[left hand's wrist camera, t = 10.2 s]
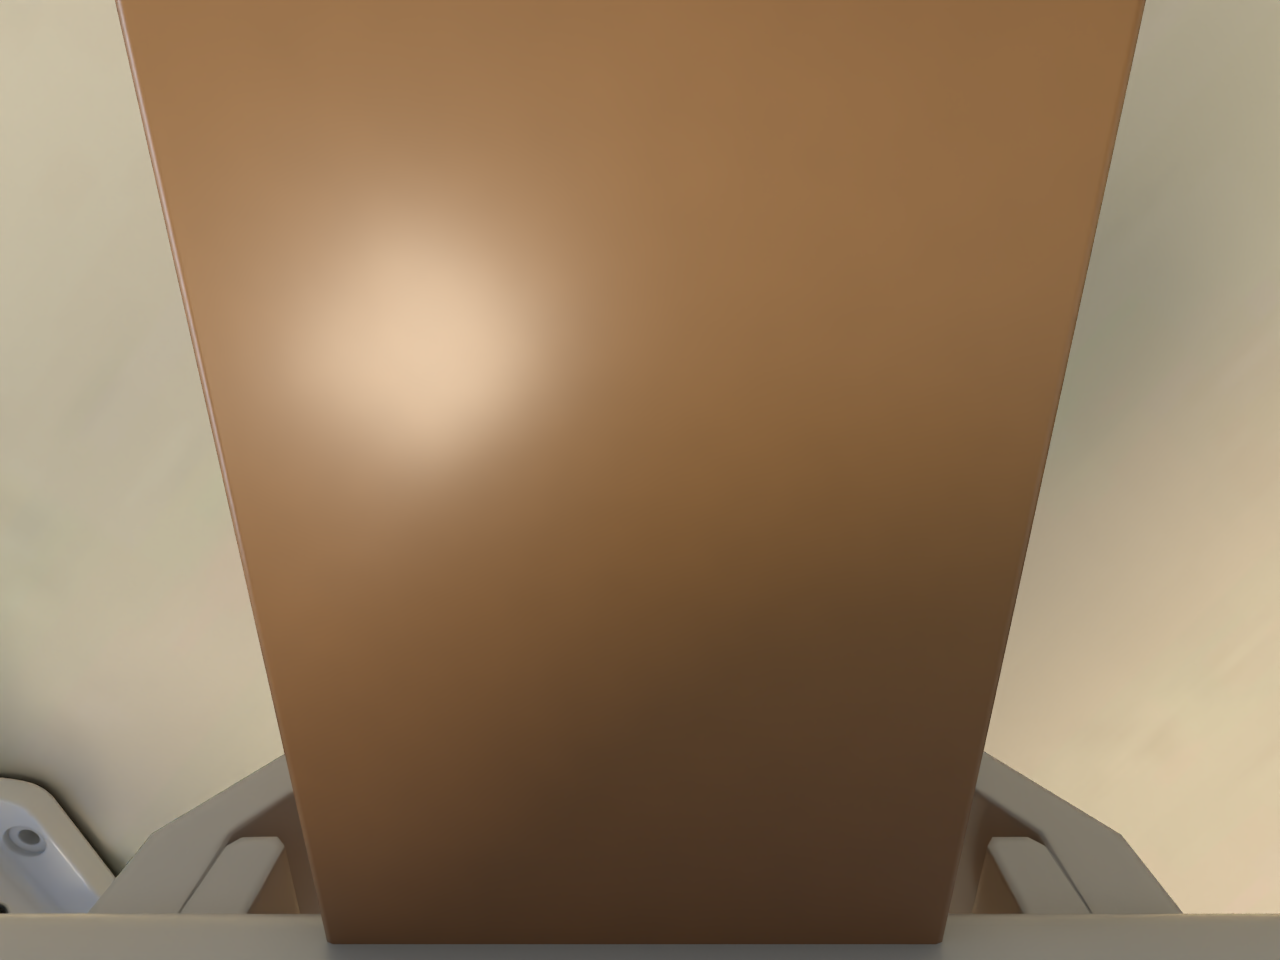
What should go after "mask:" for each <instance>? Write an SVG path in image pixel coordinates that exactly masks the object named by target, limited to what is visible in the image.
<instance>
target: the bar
mask: <svg viewBox="0 0 1280 960" xmlns="http://www.w3.org/2000/svg"><path fill="white" fill-rule="evenodd" d="M1145 1H1146V0H115V2H116V7H117V11H118V16H119V20H120V24H121V29H122V33H123V38H124V42H125V47H126V51H127V55H128V60H129V64H130V69H131V73H132V78H133V82H134V87H135V91H136V95H137V100H138V104H139V109H140V113H141V118H142V122H143V127H144V131H145V135H146V140H147V144H148V149H149V153H150V158H151V162H152V167H153V171H154V175H155V180H156V184H157V189H158V193H159V198H160V202H161V206H162V211H163V215H164V220H165V224H166V229H167V233H168V238H169V242H170V246H171V251H172V255H173V260H174V264H175V269H176V273H177V278H178V282H179V286H180V291H181V295H182V300H183V304H184V309H185V313H186V317H187V322H188V326H189V331H190V335H191V340H192V344H193V349H194V353H195V357H196V362H197V366H198V371H199V375H200V380H201V384H202V389H203V393H204V397H205V402H206V406H207V411H208V415H209V420H210V424H211V429H212V433H213V437H214V442H215V446H216V451H217V455H218V460H219V464H220V468H221V473H222V477H223V482H224V486H225V491H226V495H227V500H228V504H229V508H230V513H231V517H232V522H233V526H234V531H235V535H236V540H237V544H238V548H239V553H240V557H241V562H242V566H243V571H244V575H245V579H246V584H247V588H248V593H249V597H250V602H251V606H252V611H253V615H254V619H255V624H256V628H257V633H258V637H259V642H260V646H261V651H262V655H263V659H264V664H265V668H266V673H267V677H268V682H269V686H270V690H271V695H272V699H273V704H274V708H275V713H276V717H277V722H278V726H279V730H280V735H281V739H282V744H283V748H284V753H285V757H286V762H287V766H288V770H289V775H290V779H291V784H292V788H293V793H294V797H295V802H296V806H297V810H298V815H299V819H300V824H301V828H302V833H303V837H304V841H305V846H306V850H307V855H308V859H309V864H310V868H311V873H312V877H313V881H314V886H315V890H316V895H317V899H318V904H319V908H320V913H321V917H322V921H323V926H324V930H325V935H326V939H327V942H329V943H331V944H938V943H940V942H942V940H943V936H944V931H945V926H946V922H947V917H948V912H949V908H950V903H951V899H952V894H953V889H954V885H955V880H956V875H957V871H958V866H959V862H960V857H961V852H962V848H963V843H964V838H965V834H966V829H967V825H968V820H969V815H970V811H971V806H972V801H973V797H974V792H975V788H976V783H977V778H978V774H979V769H980V764H981V760H982V755H983V751H984V746H985V741H986V737H987V732H988V727H989V723H990V718H991V714H992V709H993V704H994V700H995V695H996V690H997V686H998V681H999V677H1000V672H1001V667H1002V663H1003V658H1004V653H1005V649H1006V644H1007V640H1008V635H1009V630H1010V626H1011V621H1012V616H1013V612H1014V607H1015V603H1016V598H1017V593H1018V589H1019V584H1020V579H1021V575H1022V570H1023V566H1024V561H1025V556H1026V552H1027V547H1028V542H1029V538H1030V533H1031V529H1032V524H1033V519H1034V515H1035V510H1036V505H1037V501H1038V496H1039V492H1040V487H1041V482H1042V478H1043V473H1044V468H1045V464H1046V459H1047V455H1048V450H1049V445H1050V441H1051V436H1052V431H1053V427H1054V422H1055V418H1056V413H1057V408H1058V404H1059V399H1060V394H1061V390H1062V385H1063V381H1064V376H1065V371H1066V367H1067V362H1068V357H1069V353H1070V348H1071V344H1072V339H1073V334H1074V330H1075V325H1076V320H1077V316H1078V311H1079V307H1080V302H1081V297H1082V293H1083V288H1084V283H1085V279H1086V274H1087V270H1088V265H1089V260H1090V256H1091V251H1092V246H1093V242H1094V237H1095V233H1096V228H1097V223H1098V219H1099V214H1100V209H1101V205H1102V200H1103V196H1104V191H1105V186H1106V182H1107V177H1108V172H1109V168H1110V163H1111V159H1112V154H1113V149H1114V145H1115V140H1116V135H1117V131H1118V126H1119V122H1120V117H1121V112H1122V108H1123V103H1124V98H1125V94H1126V89H1127V85H1128V80H1129V75H1130V71H1131V66H1132V61H1133V57H1134V52H1135V48H1136V43H1137V38H1138V34H1139V29H1140V24H1141V20H1142V15H1143V11H1144V6H1145Z"/></svg>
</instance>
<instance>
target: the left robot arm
mask: <svg viewBox="0 0 1280 960" xmlns="http://www.w3.org/2000/svg"><path fill="white" fill-rule="evenodd" d="M0 960H1280V914H1183V913H1182V911H1181V910H1180V909H1179V907H1178V906H1177V905H1176V904H1175V902H1174V901H1173V900H1172V899H1171V897H1170V896H1169V895H1168V894H1167V892H1166V891H1165V890H1164V888H1163V887H1162V886H1161V885H1160V883H1159V882H1158V881H1157V880H1156V878H1155V877H1154V876H1153V875H1152V873H1151V872H1150V871H1149V869H1148V868H1147V867H1146V866H1145V864H1144V863H1143V862H1142V861H1141V859H1140V858H1139V857H1138V855H1137V854H1136V853H1135V852H1134V850H1133V849H1132V848H1131V847H1130V845H1129V844H1128V843H1127V842H1126V840H1125V839H1124V838H1123V836H1122V835H1121V834H1119V833H1117V832H1116V831H1114V830H1112V829H1111V828H1109V827H1107V826H1106V825H1104V824H1103V823H1101V822H1099V821H1098V820H1096V819H1094V818H1093V817H1091V816H1089V815H1088V814H1086V813H1084V812H1083V811H1081V810H1079V809H1078V808H1076V807H1075V806H1073V805H1071V804H1070V803H1068V802H1066V801H1065V800H1063V799H1061V798H1060V797H1058V796H1056V795H1055V794H1053V793H1051V792H1050V791H1048V790H1047V789H1045V788H1043V787H1042V786H1040V785H1038V784H1037V783H1035V782H1033V781H1032V780H1030V779H1028V778H1027V777H1025V776H1024V775H1022V774H1020V773H1019V772H1017V771H1015V770H1014V769H1012V768H1010V767H1009V766H1007V765H1005V764H1004V763H1002V762H1000V761H999V760H997V759H996V758H994V757H992V756H991V755H989V754H987V753H986V752H984V751H983V755H982V760H981V764H980V769H979V774H978V778H977V783H976V788H975V792H974V797H973V801H972V806H971V811H970V815H969V820H968V825H967V829H966V834H965V838H964V843H963V848H962V852H961V857H960V862H959V866H958V871H957V875H956V880H955V885H954V889H953V894H952V899H951V903H950V908H949V912H948V917H947V922H946V926H945V931H944V936H943V940H942V942H940V943H938V944H331V943H329V942H327V939H326V935H325V930H324V926H323V921H322V917H321V913H320V908H319V904H318V899H317V895H316V890H315V886H314V881H313V877H312V873H311V868H310V864H309V859H308V855H307V850H306V846H305V841H304V837H303V833H302V828H301V824H300V819H299V815H298V810H297V806H296V802H295V797H294V793H293V788H292V784H291V779H290V775H289V770H288V766H287V762H286V757H285V754H284V755H282V756H280V757H279V758H277V759H275V760H274V761H272V762H270V763H269V764H267V765H265V766H264V767H262V768H260V769H259V770H257V771H255V772H254V773H252V774H250V775H249V776H247V777H245V778H244V779H242V780H240V781H239V782H237V783H235V784H234V785H232V786H230V787H229V788H227V789H225V790H224V791H222V792H220V793H219V794H217V795H215V796H214V797H212V798H210V799H209V800H207V801H205V802H204V803H202V804H200V805H199V806H197V807H195V808H194V809H192V810H190V811H189V812H187V813H185V814H184V815H182V816H180V817H179V818H177V819H175V820H174V821H172V822H170V823H169V824H167V825H165V826H164V827H162V828H160V829H159V830H157V831H155V832H154V833H152V834H151V835H150V836H149V838H148V839H147V840H146V841H145V843H144V844H143V845H142V846H141V848H140V849H139V850H138V851H137V853H136V854H135V855H134V856H133V857H132V859H131V860H130V861H129V862H128V864H127V865H126V866H125V867H124V869H123V870H122V871H121V872H120V874H119V875H118V876H117V877H115V876H114V875H113V873H112V872H111V871H110V870H109V868H108V867H107V866H106V864H105V863H104V862H103V861H102V859H101V858H100V857H99V855H98V854H97V853H96V851H95V850H94V849H93V848H92V846H91V845H90V844H89V842H88V841H87V840H86V839H85V837H84V836H83V835H82V833H81V832H80V831H79V829H78V828H77V827H76V826H75V824H74V823H73V822H72V820H71V819H70V818H69V817H68V815H67V814H66V813H65V811H64V810H63V809H62V807H61V806H60V805H59V804H58V802H57V801H56V800H55V799H54V797H53V796H52V795H51V794H50V793H49V792H47V791H46V790H45V789H43V788H42V787H40V786H38V785H36V784H33V783H30V782H26V781H22V780H17V779H9V778H0Z"/></svg>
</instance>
